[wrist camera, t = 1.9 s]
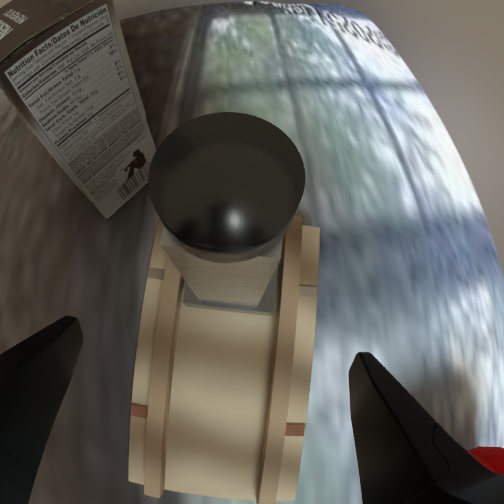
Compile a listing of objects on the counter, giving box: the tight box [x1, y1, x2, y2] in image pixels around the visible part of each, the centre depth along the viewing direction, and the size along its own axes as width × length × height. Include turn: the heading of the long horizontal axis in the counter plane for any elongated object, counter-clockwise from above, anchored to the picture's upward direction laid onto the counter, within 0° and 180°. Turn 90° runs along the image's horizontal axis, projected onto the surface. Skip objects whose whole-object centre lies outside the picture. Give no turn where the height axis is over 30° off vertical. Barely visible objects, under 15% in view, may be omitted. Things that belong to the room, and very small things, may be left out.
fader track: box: [128, 215, 320, 504], centre depth 18 cm, size 19×11×3 cm, turn 174°
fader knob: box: [148, 112, 305, 316], centre depth 14 cm, size 4×5×13 cm
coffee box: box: [0, 0, 157, 219], centre depth 16 cm, size 9×6×16 cm
